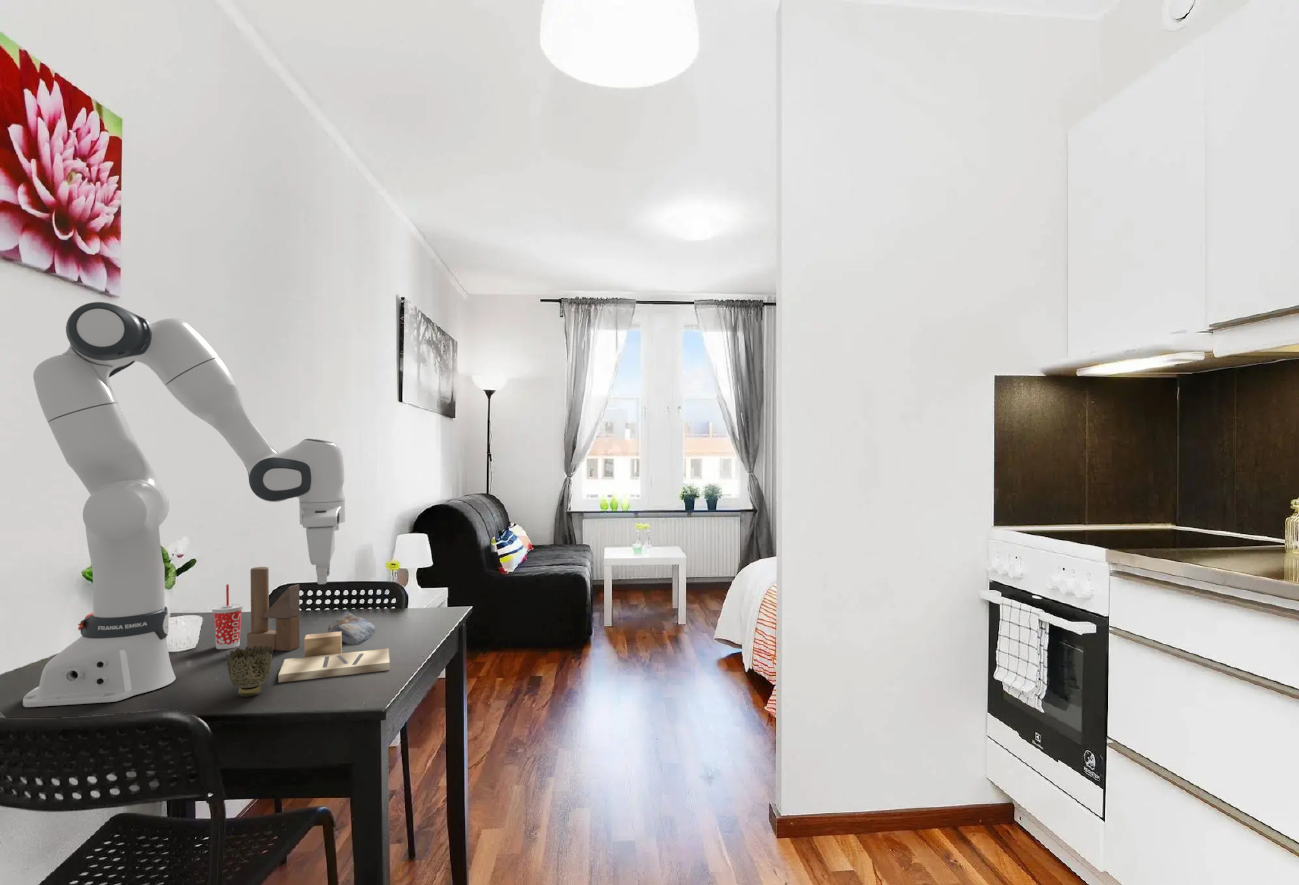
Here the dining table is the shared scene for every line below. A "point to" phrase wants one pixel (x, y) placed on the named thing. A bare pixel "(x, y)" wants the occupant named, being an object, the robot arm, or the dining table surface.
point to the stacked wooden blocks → (273, 615)
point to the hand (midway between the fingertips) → (323, 579)
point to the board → (334, 665)
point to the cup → (249, 669)
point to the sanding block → (323, 644)
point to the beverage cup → (227, 623)
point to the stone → (352, 628)
